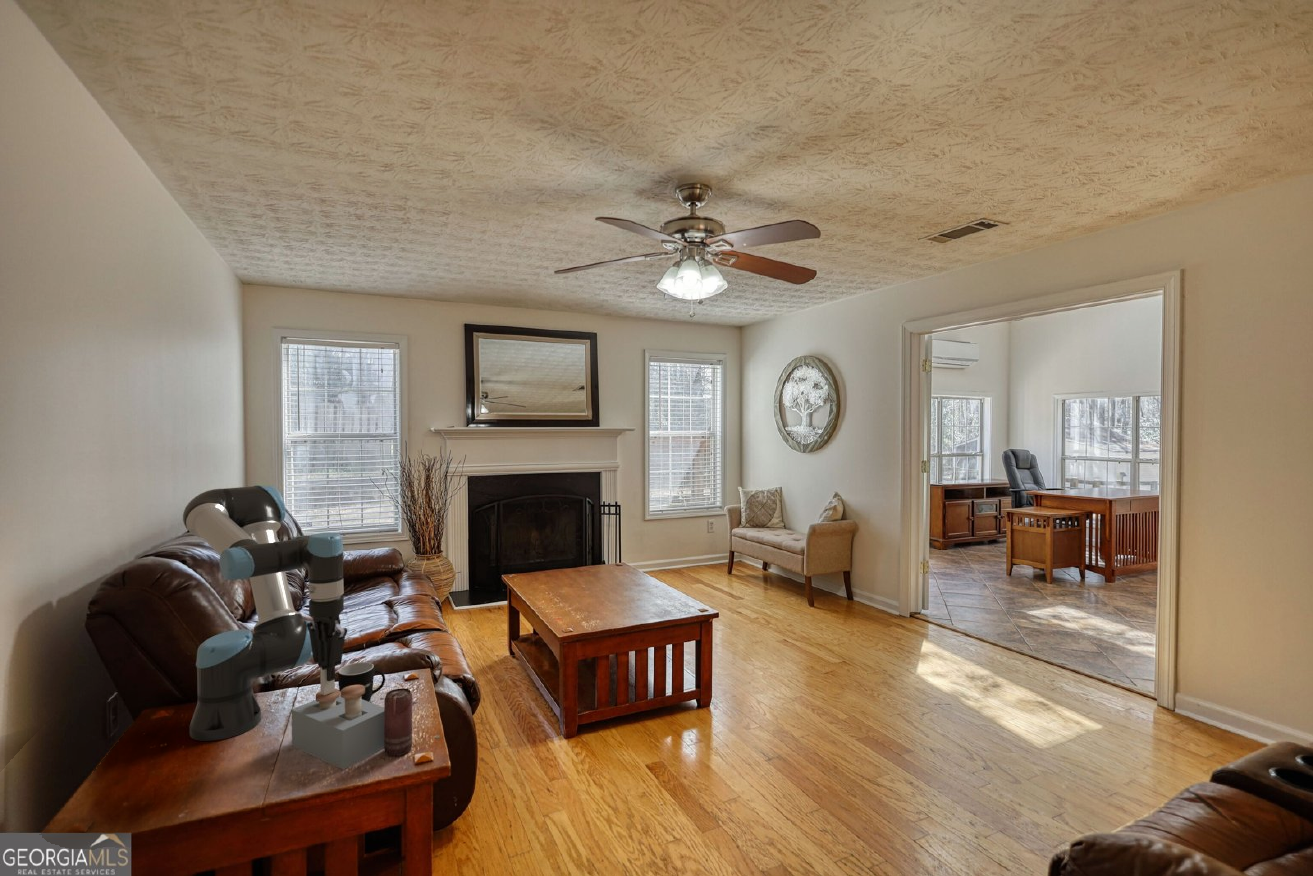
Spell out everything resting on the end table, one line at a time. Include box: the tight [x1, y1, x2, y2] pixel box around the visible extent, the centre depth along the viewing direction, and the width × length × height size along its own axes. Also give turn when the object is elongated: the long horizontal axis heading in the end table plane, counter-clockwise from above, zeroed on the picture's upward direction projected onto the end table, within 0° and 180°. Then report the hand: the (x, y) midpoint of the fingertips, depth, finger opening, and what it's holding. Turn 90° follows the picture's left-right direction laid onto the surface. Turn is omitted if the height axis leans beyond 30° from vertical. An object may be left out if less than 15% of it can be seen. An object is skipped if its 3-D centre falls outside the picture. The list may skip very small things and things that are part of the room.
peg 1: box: [315, 688, 340, 710], centre depth 153 cm, size 5×5×10 cm
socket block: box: [291, 691, 384, 770], centre depth 151 cm, size 20×12×9 cm, turn 60°
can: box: [383, 687, 413, 758], centre depth 149 cm, size 6×6×14 cm
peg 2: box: [341, 685, 365, 721], centre depth 148 cm, size 5×5×10 cm
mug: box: [337, 661, 386, 702], centre depth 174 cm, size 12×9×10 cm
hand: (327, 692), depth 153 cm, fingers closed
